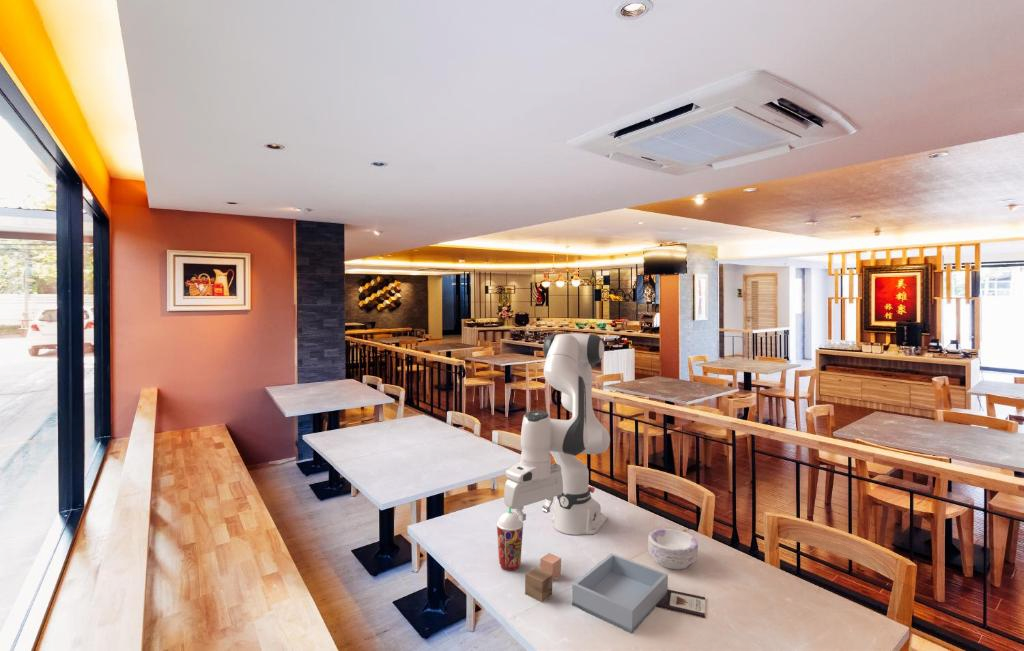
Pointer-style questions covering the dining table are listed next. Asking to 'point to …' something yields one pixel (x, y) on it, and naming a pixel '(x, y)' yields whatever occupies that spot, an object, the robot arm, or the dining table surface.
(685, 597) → the chocolate bar
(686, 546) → the paper bowls
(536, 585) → the walnut block
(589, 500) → the robot arm
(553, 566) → the terracotta box
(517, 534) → the smoothie
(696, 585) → the dining table surface
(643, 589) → the tote
